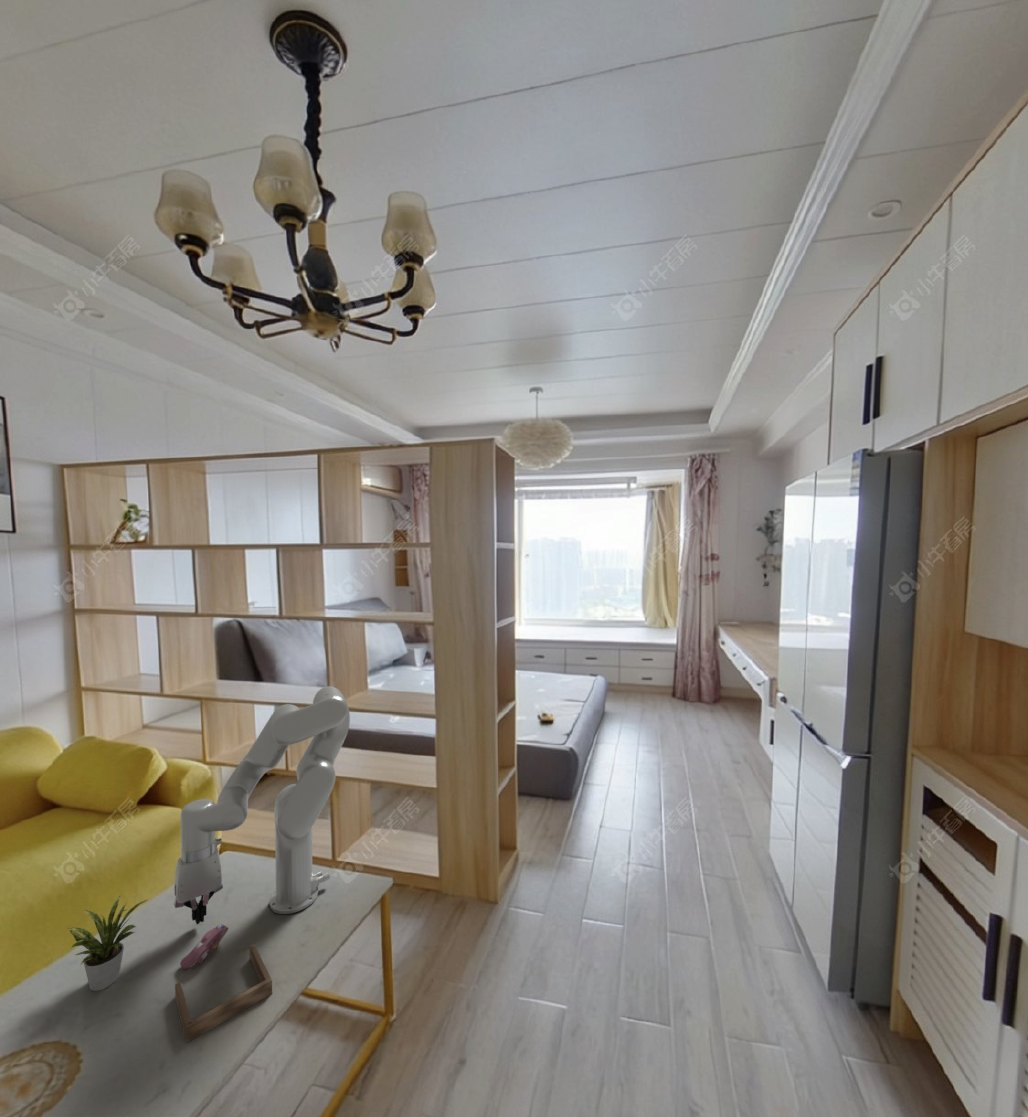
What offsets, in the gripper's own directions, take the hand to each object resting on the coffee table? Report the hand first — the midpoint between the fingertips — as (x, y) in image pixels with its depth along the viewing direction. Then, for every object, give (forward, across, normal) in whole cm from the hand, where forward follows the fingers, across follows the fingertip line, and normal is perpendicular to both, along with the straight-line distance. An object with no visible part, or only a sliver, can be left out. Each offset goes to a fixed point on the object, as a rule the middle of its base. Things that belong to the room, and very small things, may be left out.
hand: (199, 920), depth 127 cm
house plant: (+2, +18, +3) cm, 18 cm away
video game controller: (+3, 0, +11) cm, 11 cm away
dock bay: (+2, 0, +26) cm, 26 cm away
